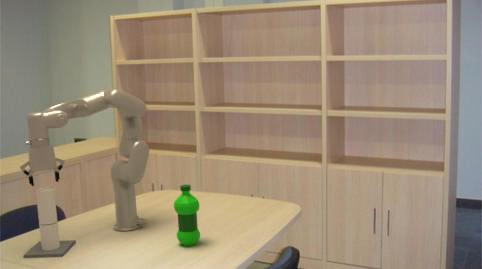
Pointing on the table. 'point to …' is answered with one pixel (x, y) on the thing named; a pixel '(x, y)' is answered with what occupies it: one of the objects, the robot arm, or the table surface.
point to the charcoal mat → (59, 252)
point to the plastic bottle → (187, 217)
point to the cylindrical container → (47, 218)
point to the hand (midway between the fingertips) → (45, 183)
